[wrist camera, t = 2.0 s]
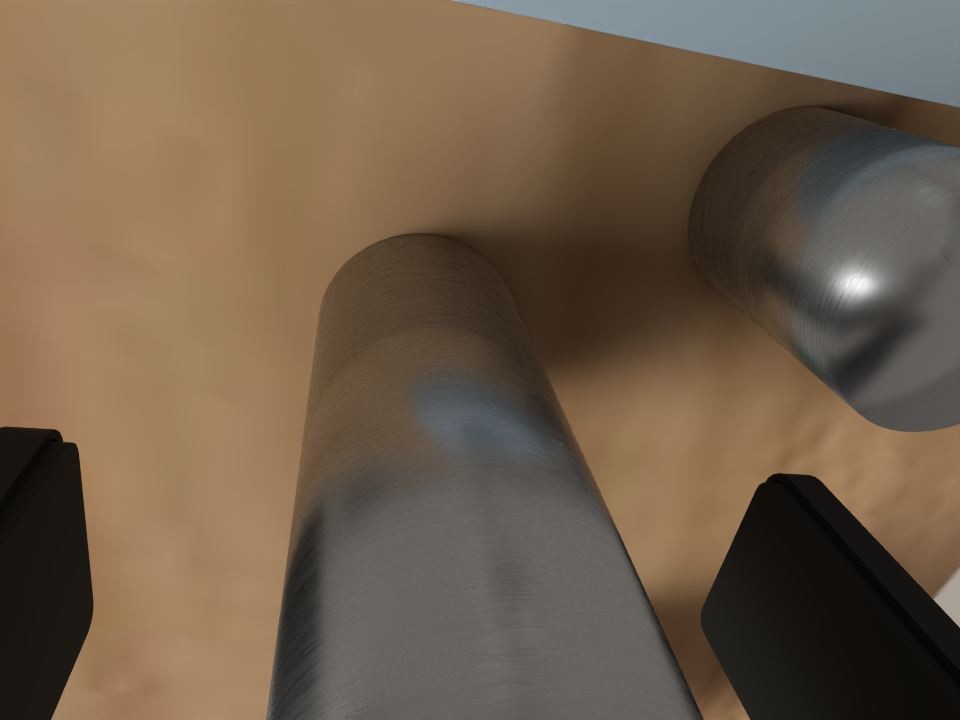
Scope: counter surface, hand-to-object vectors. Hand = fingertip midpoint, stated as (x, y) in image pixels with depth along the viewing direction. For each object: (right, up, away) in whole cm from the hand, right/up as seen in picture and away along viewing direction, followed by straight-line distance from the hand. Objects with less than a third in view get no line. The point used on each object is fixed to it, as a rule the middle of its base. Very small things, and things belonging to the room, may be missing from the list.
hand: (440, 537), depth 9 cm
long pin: (-1, +3, +4) cm, 6 cm away
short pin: (+7, +6, +4) cm, 10 cm away
